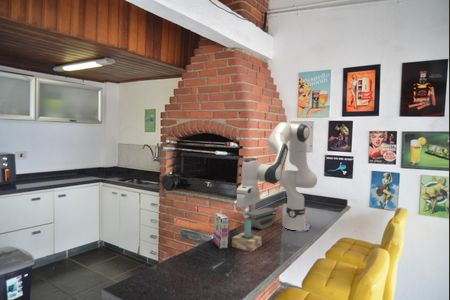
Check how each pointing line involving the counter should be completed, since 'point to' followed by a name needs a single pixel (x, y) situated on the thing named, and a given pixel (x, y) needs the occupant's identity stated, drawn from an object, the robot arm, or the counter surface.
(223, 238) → the candy bar box
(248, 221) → the peg
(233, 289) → the counter surface
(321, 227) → the counter surface
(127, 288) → the counter surface
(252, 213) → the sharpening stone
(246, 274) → the counter surface
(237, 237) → the socket block
